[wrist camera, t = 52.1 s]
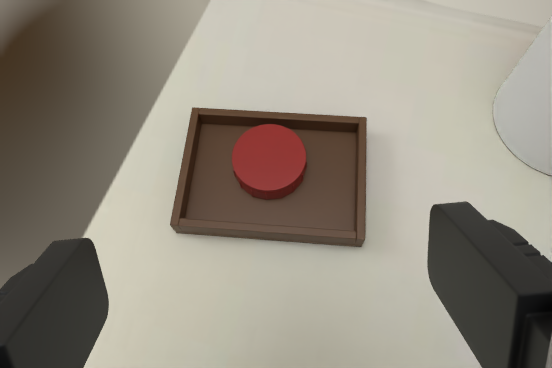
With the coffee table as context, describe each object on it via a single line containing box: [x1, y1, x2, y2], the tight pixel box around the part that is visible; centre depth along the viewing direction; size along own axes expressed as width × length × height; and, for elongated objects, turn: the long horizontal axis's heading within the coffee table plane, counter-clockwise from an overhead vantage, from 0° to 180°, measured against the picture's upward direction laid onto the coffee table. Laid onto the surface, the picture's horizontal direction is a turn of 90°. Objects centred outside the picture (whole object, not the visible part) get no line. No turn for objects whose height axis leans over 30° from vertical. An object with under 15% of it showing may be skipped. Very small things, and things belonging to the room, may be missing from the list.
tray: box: [170, 108, 367, 247], centre depth 34 cm, size 14×10×2 cm
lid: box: [232, 124, 307, 200], centre depth 34 cm, size 6×6×2 cm
